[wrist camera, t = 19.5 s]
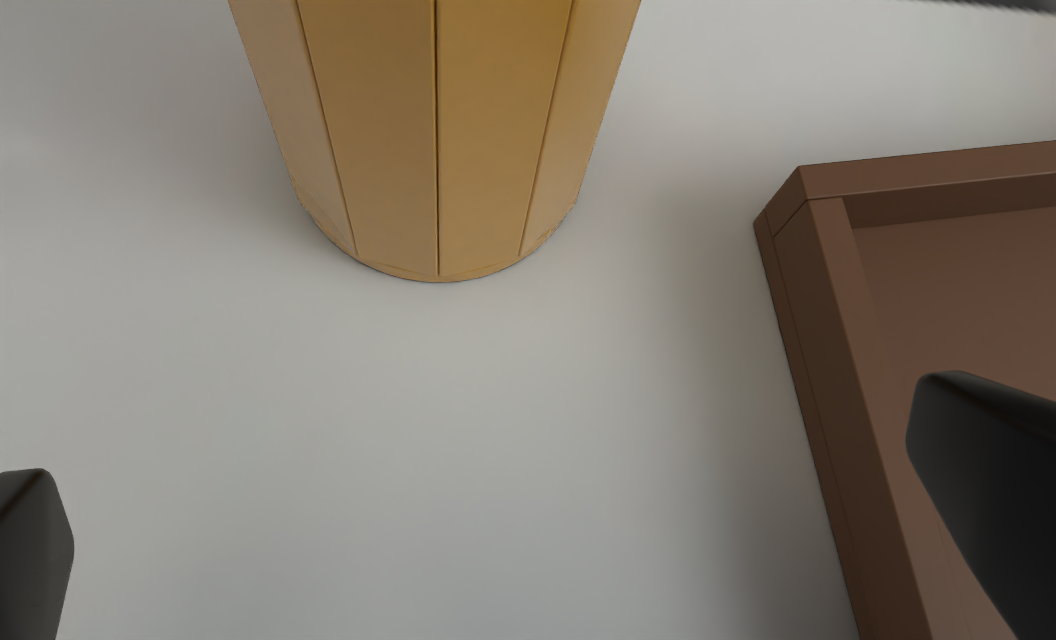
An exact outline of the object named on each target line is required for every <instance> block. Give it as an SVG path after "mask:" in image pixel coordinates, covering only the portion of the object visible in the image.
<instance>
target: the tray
mask: <svg viewBox="0 0 1056 640" xmlns="http://www.w3.org/2000/svg"><path fill="white" fill-rule="evenodd" d="M754 227H755V231H756V235H757V239H758V243H759V246H760V250H761V254H762V258H763V262H764V266H765V270H766V274H767V277H768V281H769V285H770V289H771V293H772V297H773V301H774V305H775V308H776V312H777V316H778V320H779V324H780V328H781V332H782V336H783V339H784V343H785V347H786V351H787V355H788V359H789V363H790V367H791V370H792V374H793V378H794V382H795V386H796V390H797V394H798V398H799V401H800V405H801V409H802V413H803V417H804V421H805V425H806V429H807V432H808V436H809V440H810V444H811V448H812V452H813V456H814V460H815V463H816V467H817V471H818V475H819V479H820V483H821V487H822V491H823V494H824V498H825V502H826V506H827V510H828V514H829V518H830V522H831V525H832V529H833V533H834V537H835V541H836V545H837V549H838V553H839V556H840V560H841V564H842V568H843V572H844V576H845V580H846V584H847V587H848V591H849V595H850V599H851V603H852V607H853V611H854V615H855V618H856V622H857V626H858V630H859V634H860V638H861V640H1017V638H1016V637H1015V636H1014V634H1013V633H1012V631H1011V630H1010V628H1009V627H1008V625H1007V624H1006V623H1005V621H1004V620H1003V618H1002V617H1001V615H1000V614H999V612H998V611H997V610H996V608H995V607H994V605H993V604H992V602H991V601H990V599H989V598H988V596H987V595H986V594H985V592H984V591H983V589H982V587H981V586H980V584H979V583H978V581H977V580H976V578H975V577H974V575H973V574H972V572H971V570H970V569H969V567H968V565H967V564H966V562H965V560H964V558H963V557H962V555H961V553H960V552H959V550H958V548H957V546H956V544H955V542H954V541H953V539H952V537H951V535H950V533H949V531H948V530H947V528H946V526H945V524H944V522H943V521H942V519H941V517H940V515H939V513H938V511H937V510H936V508H935V506H934V504H933V502H932V501H931V499H930V497H929V495H928V493H927V491H926V490H925V488H924V486H923V484H922V482H921V480H920V479H919V477H918V475H917V473H916V471H915V470H914V468H913V466H912V464H911V462H910V460H909V458H908V455H907V452H906V448H905V433H906V428H907V423H908V419H909V414H910V409H911V404H912V399H913V395H914V390H915V386H916V383H917V381H918V380H919V378H920V377H921V376H923V375H924V374H926V373H932V372H941V371H950V370H961V371H965V372H968V373H971V374H974V375H977V376H980V377H983V378H986V379H989V380H992V381H995V382H998V383H1001V384H1004V385H1007V386H1010V387H1013V388H1016V389H1019V390H1022V391H1025V392H1028V393H1031V394H1034V395H1037V396H1040V397H1043V398H1046V399H1049V400H1052V401H1055V402H1056V140H1053V141H1043V142H1033V143H1023V144H1013V145H1003V146H993V147H983V148H973V149H963V150H953V151H942V152H932V153H922V154H912V155H902V156H892V157H882V158H872V159H862V160H852V161H842V162H832V163H822V164H812V165H802V166H798V167H797V168H796V169H795V170H794V171H793V173H792V174H791V175H790V176H789V178H788V179H787V180H786V181H785V183H784V184H783V185H782V186H781V188H780V189H779V190H778V191H777V193H776V194H775V195H774V196H773V197H772V199H771V200H770V201H769V202H768V204H767V205H766V206H765V208H764V209H763V210H762V212H761V213H760V214H759V215H758V217H757V218H756V219H755V220H754Z"/></svg>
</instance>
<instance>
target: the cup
mask: <svg viewBox="0 0 1056 640" xmlns="http://www.w3.org/2000/svg"><path fill="white" fill-rule="evenodd" d="M228 3H229V6H230V9H231V11H232V14H233V17H234V20H235V23H236V26H237V28H238V31H239V34H240V37H241V40H242V43H243V45H244V48H245V51H246V54H247V57H248V60H249V62H250V65H251V68H252V71H253V74H254V76H255V79H256V82H257V85H258V88H259V91H260V93H261V96H262V99H263V102H264V105H265V108H266V110H267V113H268V116H269V119H270V122H271V125H272V127H273V130H274V133H275V136H276V139H277V141H278V144H279V147H280V150H281V153H282V156H283V158H284V161H285V164H286V167H287V170H288V173H289V175H290V178H291V181H292V184H293V187H294V190H295V192H296V195H297V198H298V200H299V201H300V203H301V205H302V206H303V207H304V208H305V209H306V210H307V212H308V213H309V214H310V216H311V217H312V219H313V220H314V222H315V223H316V225H317V226H318V227H319V228H320V229H321V230H322V232H323V233H324V234H325V235H326V236H327V237H328V238H329V239H330V240H331V241H332V242H333V243H334V244H336V245H337V246H338V247H339V248H340V249H342V250H343V251H344V252H345V253H347V254H348V255H350V256H352V257H353V258H355V259H356V260H358V261H360V262H361V263H363V264H365V265H367V266H370V267H372V268H374V269H376V270H378V271H381V272H384V273H387V274H390V275H393V276H396V277H400V278H405V279H410V280H416V281H426V282H454V281H463V280H468V279H474V278H479V277H482V276H485V275H489V274H492V273H495V272H498V271H500V270H502V269H504V268H507V267H509V266H511V265H513V264H515V263H517V262H518V261H520V260H521V259H523V258H525V257H526V256H528V255H529V254H531V253H532V252H533V251H534V250H536V249H537V248H538V247H539V246H541V245H542V244H543V243H544V242H545V241H546V240H547V239H548V238H549V237H550V236H551V235H552V233H553V232H554V231H555V230H556V229H557V228H558V226H559V225H560V223H561V222H562V220H563V219H564V217H565V216H566V215H567V213H568V211H570V210H571V209H572V207H573V205H574V204H575V202H576V199H577V196H578V193H579V190H580V187H581V184H582V181H583V178H584V175H585V172H586V168H587V165H588V162H589V159H590V156H591V153H592V150H593V147H594V144H595V141H596V138H597V135H598V132H599V129H600V126H601V123H602V119H603V116H604V113H605V110H606V107H607V104H608V101H609V98H610V95H611V92H612V89H613V86H614V83H615V80H616V77H617V74H618V70H619V67H620V64H621V61H622V58H623V55H624V52H625V49H626V46H627V43H628V40H629V37H630V34H631V31H632V28H633V24H634V21H635V18H636V15H637V12H638V9H639V6H640V3H641V0H228Z"/></svg>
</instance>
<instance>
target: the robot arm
mask: <svg viewBox="0 0 1056 640" xmlns="http://www.w3.org/2000/svg"><path fill="white" fill-rule="evenodd" d="M905 448H906V452H907V455H908V458H909V460H910V462H911V464H912V466H913V468H914V470H915V471H916V473H917V475H918V477H919V479H920V480H921V482H922V484H923V486H924V488H925V490H926V491H927V493H928V495H929V497H930V499H931V501H932V502H933V504H934V506H935V508H936V510H937V511H938V513H939V515H940V517H941V519H942V521H943V522H944V524H945V526H946V528H947V530H948V531H949V533H950V535H951V537H952V539H953V541H954V542H955V544H956V546H957V548H958V550H959V552H960V553H961V555H962V557H963V558H964V560H965V562H966V564H967V565H968V567H969V569H970V570H971V572H972V574H973V575H974V577H975V578H976V580H977V581H978V583H979V584H980V586H981V587H982V589H983V591H984V592H985V594H986V595H987V596H988V598H989V599H990V601H991V602H992V604H993V605H994V607H995V608H996V610H997V611H998V612H999V614H1000V615H1001V617H1002V618H1003V620H1004V621H1005V623H1006V624H1007V625H1008V627H1009V628H1010V630H1011V631H1012V633H1013V634H1014V636H1015V637H1016V638H1017V640H1056V402H1055V401H1052V400H1049V399H1046V398H1043V397H1040V396H1037V395H1034V394H1031V393H1028V392H1025V391H1022V390H1019V389H1016V388H1013V387H1010V386H1007V385H1004V384H1001V383H998V382H995V381H992V380H989V379H986V378H983V377H980V376H977V375H974V374H971V373H968V372H965V371H961V370H950V371H941V372H932V373H926V374H924V375H923V376H921V377H920V378H919V380H918V381H917V383H916V386H915V390H914V395H913V399H912V404H911V409H910V414H909V419H908V423H907V428H906V433H905ZM73 558H74V539H73V534H72V531H71V528H70V525H69V522H68V519H67V516H66V513H65V510H64V507H63V504H62V501H61V498H60V495H59V492H58V489H57V486H56V483H55V481H54V479H53V477H52V476H51V474H50V473H49V472H48V471H46V470H44V469H42V468H35V469H26V470H17V471H7V472H2V473H0V640H55V639H56V635H57V630H58V626H59V621H60V617H61V613H62V608H63V604H64V599H65V595H66V590H67V586H68V581H69V577H70V572H71V568H72V564H73Z"/></svg>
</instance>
